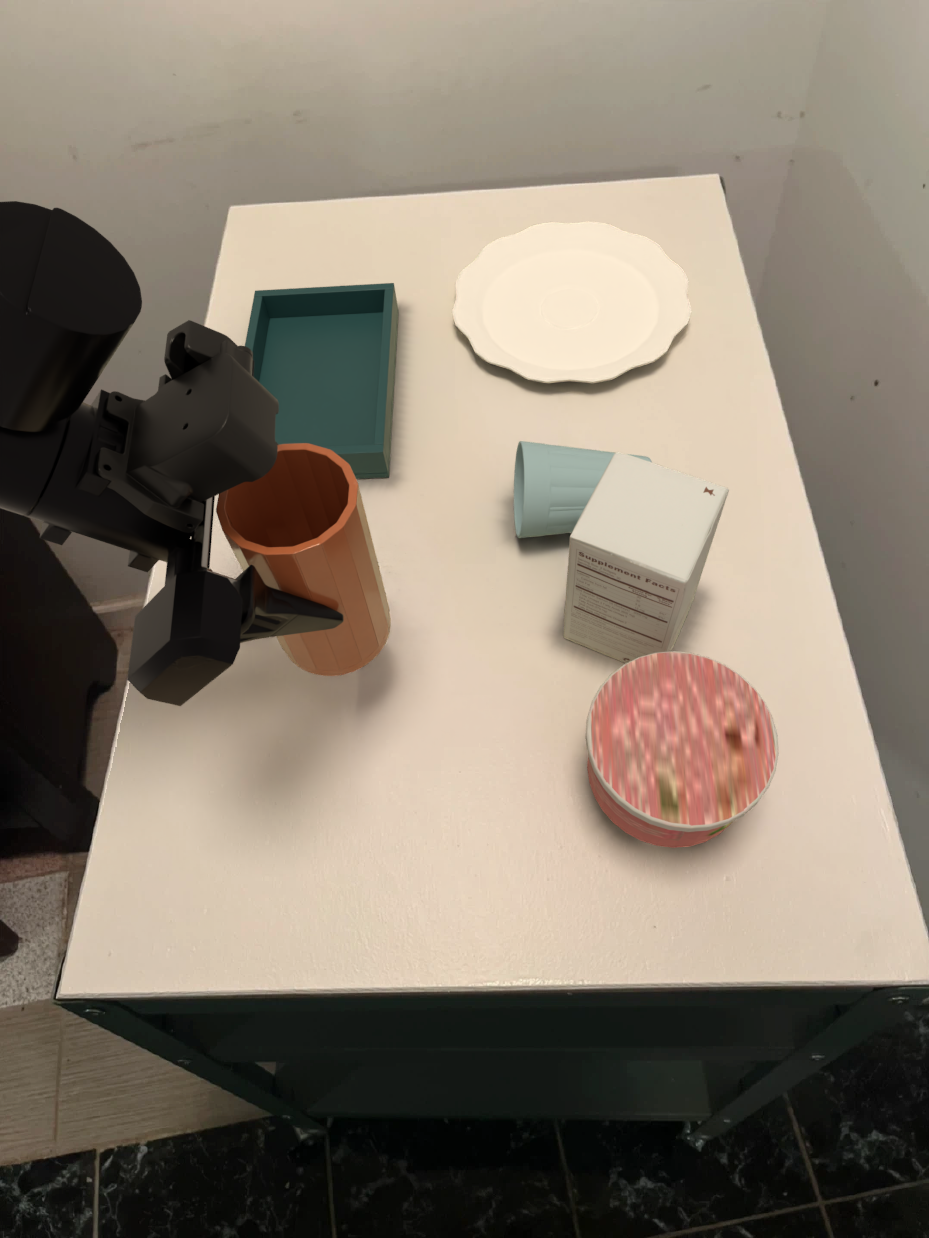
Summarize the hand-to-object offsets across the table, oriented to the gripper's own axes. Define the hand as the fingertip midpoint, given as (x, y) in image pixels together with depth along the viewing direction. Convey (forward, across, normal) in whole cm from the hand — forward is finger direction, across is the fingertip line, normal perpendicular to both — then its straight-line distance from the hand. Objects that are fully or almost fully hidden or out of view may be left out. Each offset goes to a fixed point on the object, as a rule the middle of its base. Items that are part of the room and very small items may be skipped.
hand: (338, 565), depth 46 cm
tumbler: (+4, 0, +6) cm, 7 cm away
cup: (+22, +15, -7) cm, 27 cm away
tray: (+7, +28, +12) cm, 31 cm away
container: (+22, -10, -3) cm, 25 cm away
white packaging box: (+22, +2, -4) cm, 23 cm away
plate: (+23, +34, -4) cm, 41 cm away
